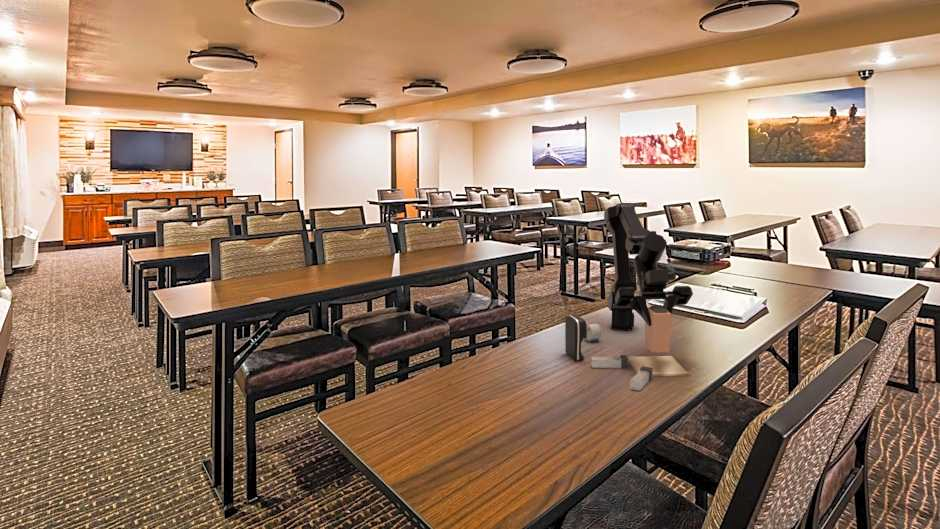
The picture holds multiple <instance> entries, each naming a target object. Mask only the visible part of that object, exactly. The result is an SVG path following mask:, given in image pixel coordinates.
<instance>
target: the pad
mask: <svg viewBox="0 0 940 529" xmlns="http://www.w3.org/2000/svg"><path fill="white" fill-rule="evenodd" d="M627 358H628V363H629V365H630V366H631V367H632V368H633V370H634V371H635V373H636V374H637V373H638V372H639V371H640V368H641V367H642V366H645V367H650V368H653V374H652V377H687V376H689V375H690V374H689V372H688V371H687V370H686V369H685V368H683V366H682V364H680V363H679V362H678V361H677V360H676V359H675V358H674V357H673V356H672V355H661V356H660V355H656V356H653V355H652V356H646V355H645V356H627Z"/></svg>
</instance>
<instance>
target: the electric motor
mask: <svg viewBox="0 0 940 529" xmlns="http://www.w3.org/2000/svg"><path fill="white" fill-rule="evenodd" d="M586 325H587V338H585V340H586V341H587V342H588V341H589V343H593V341H595V342H599V340H600V339H601V337H602V328H601V326H600V325H599V324H598V323H592V324H586Z"/></svg>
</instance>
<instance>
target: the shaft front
mask: <svg viewBox="0 0 940 529" xmlns="http://www.w3.org/2000/svg"><path fill="white" fill-rule="evenodd" d="M652 374H653V368H650V367H645V366H642V367H641V368H640V371H639V372H638V373H637V372H636V374H635V375H634V376H633V377H632V378H630V380H629V381H630V383H629V384H630V385H629V389H630V390H634V391H638V392H640V391H641V390H642V389H643V388H644V387H645V385H646V384H648V382H649V381H652V379H653V376H652Z"/></svg>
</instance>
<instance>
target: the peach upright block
mask: <svg viewBox="0 0 940 529" xmlns="http://www.w3.org/2000/svg"><path fill="white" fill-rule="evenodd" d="M647 308H648V311H649V315H650V318H651V326H649V325H648V324H647V323H646V322H645V328H644V329H645V332H644V345H645V347H646V348H647V349H648V350H649V351H650V352H651V353H670V352H671V333H672V331H671V330H672V317H671V315H672V314H673V313H672V314H671V313H670V312H669V311H667V309H665V308H664V307H663V305H650V307H647Z"/></svg>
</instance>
